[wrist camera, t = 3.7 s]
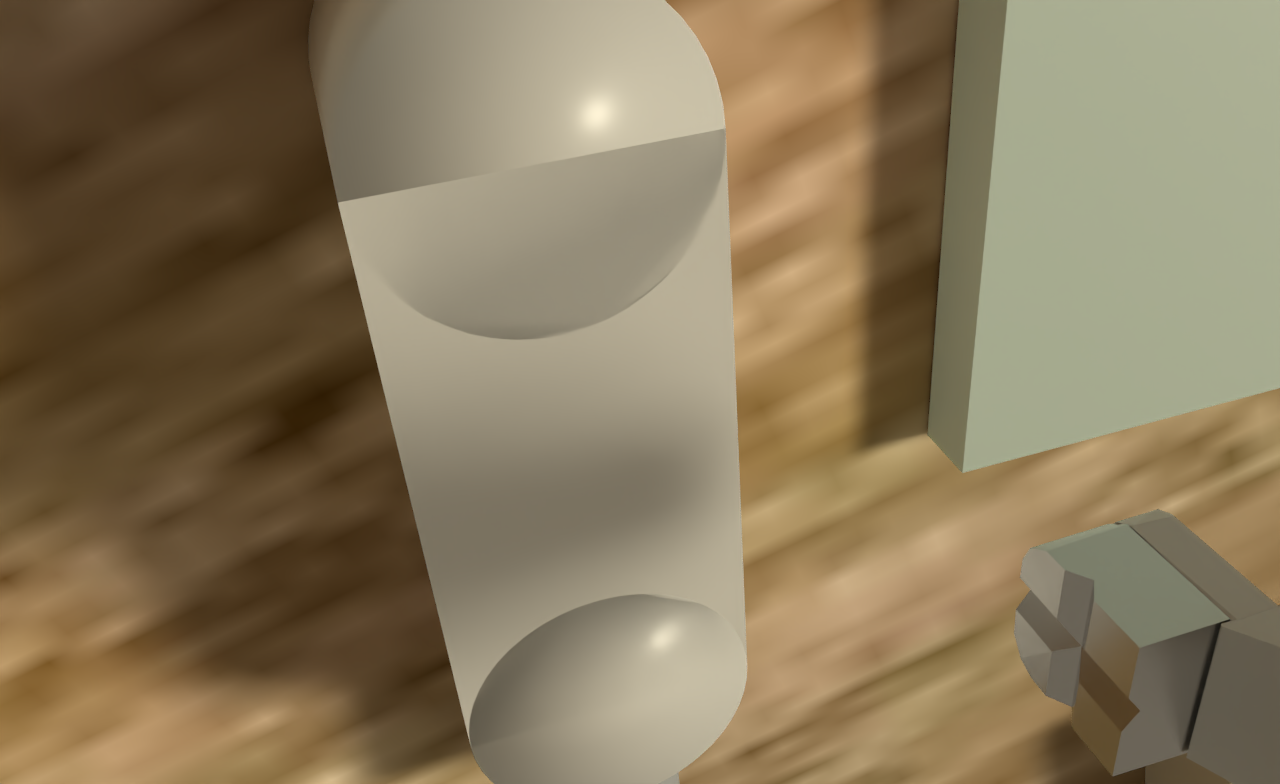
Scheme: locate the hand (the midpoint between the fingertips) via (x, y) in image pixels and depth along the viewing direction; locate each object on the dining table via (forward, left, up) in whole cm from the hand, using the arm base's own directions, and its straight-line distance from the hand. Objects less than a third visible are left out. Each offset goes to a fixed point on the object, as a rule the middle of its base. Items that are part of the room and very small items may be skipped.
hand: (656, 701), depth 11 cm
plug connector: (+1, 0, -7) cm, 7 cm away
